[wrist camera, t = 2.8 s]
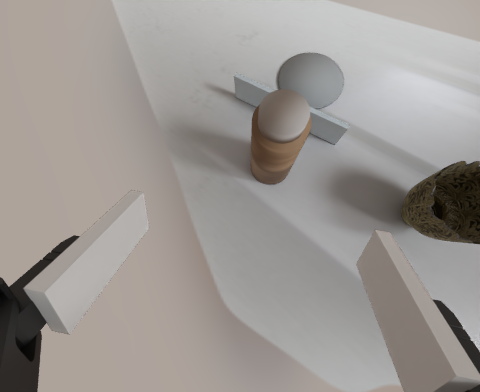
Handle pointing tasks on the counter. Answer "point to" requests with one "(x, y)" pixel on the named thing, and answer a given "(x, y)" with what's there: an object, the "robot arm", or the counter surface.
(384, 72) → the counter surface
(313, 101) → the coaster
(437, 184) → the cup
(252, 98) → the acrylic wall
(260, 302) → the counter surface
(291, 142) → the pepper mill
